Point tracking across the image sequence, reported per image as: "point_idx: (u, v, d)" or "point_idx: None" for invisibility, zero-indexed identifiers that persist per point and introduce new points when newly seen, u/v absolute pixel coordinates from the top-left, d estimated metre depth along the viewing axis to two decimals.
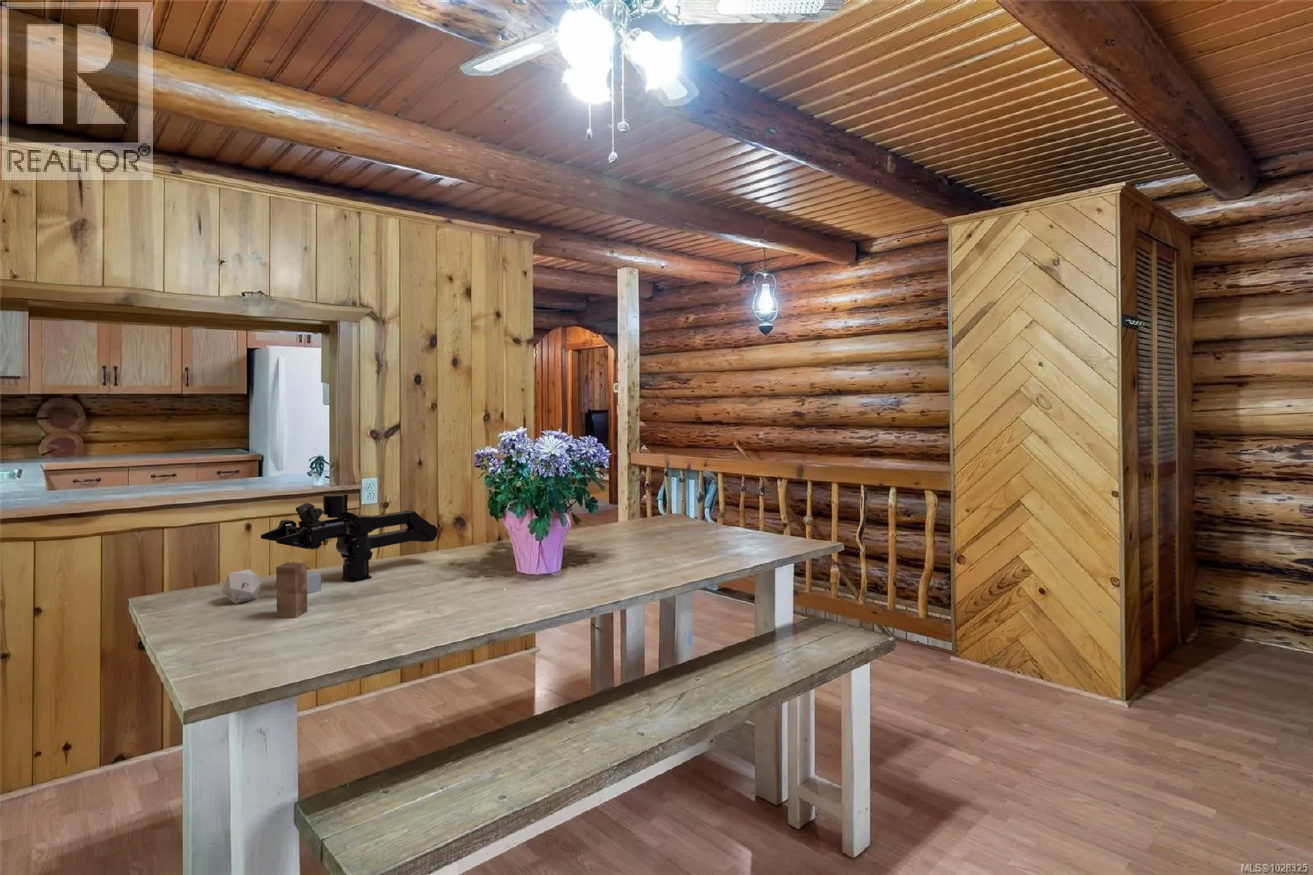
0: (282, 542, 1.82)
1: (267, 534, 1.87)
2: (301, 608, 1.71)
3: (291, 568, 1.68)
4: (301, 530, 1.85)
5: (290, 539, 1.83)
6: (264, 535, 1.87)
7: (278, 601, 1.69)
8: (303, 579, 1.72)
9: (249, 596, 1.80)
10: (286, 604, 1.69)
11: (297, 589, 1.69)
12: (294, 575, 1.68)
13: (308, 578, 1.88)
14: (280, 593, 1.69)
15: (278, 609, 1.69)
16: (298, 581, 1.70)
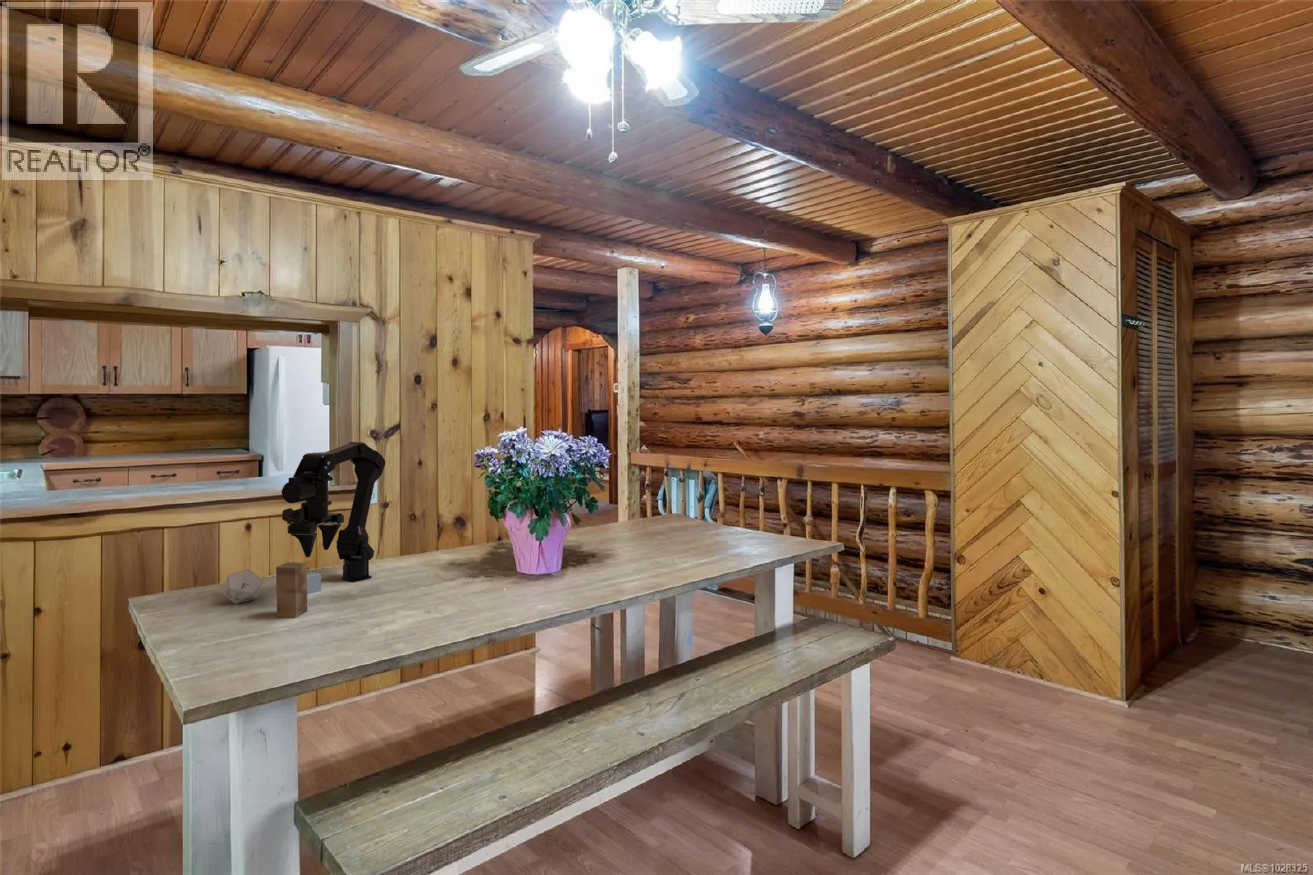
0: (308, 553, 1.81)
1: (324, 544, 1.91)
2: (301, 608, 1.71)
3: (291, 568, 1.68)
4: None
5: (305, 546, 1.81)
6: (324, 547, 1.91)
7: (278, 601, 1.69)
8: (303, 579, 1.72)
9: (249, 596, 1.80)
10: (286, 604, 1.69)
11: (297, 589, 1.69)
12: (294, 575, 1.68)
13: (308, 578, 1.88)
14: (280, 593, 1.69)
15: (278, 609, 1.69)
16: (298, 581, 1.70)
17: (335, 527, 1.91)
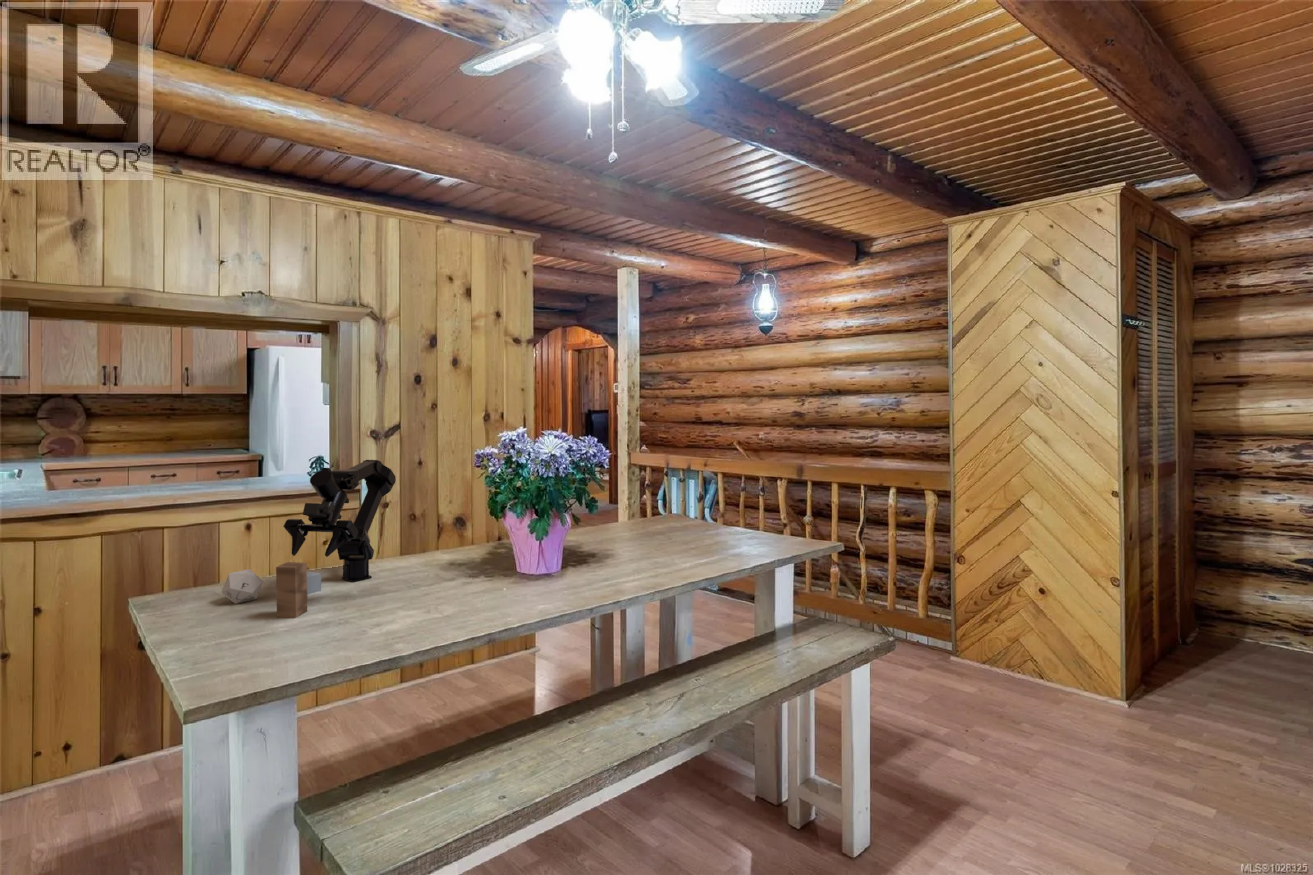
0: (330, 552, 1.80)
1: (295, 549, 1.80)
2: (301, 608, 1.71)
3: (291, 568, 1.68)
4: (336, 532, 1.81)
5: (334, 545, 1.81)
6: (294, 551, 1.80)
7: (278, 601, 1.69)
8: (303, 579, 1.72)
9: (249, 596, 1.80)
10: (286, 604, 1.69)
11: (297, 589, 1.69)
12: (294, 575, 1.68)
13: (308, 578, 1.88)
14: (280, 593, 1.69)
15: (278, 609, 1.69)
16: (298, 581, 1.70)
17: (304, 539, 1.85)
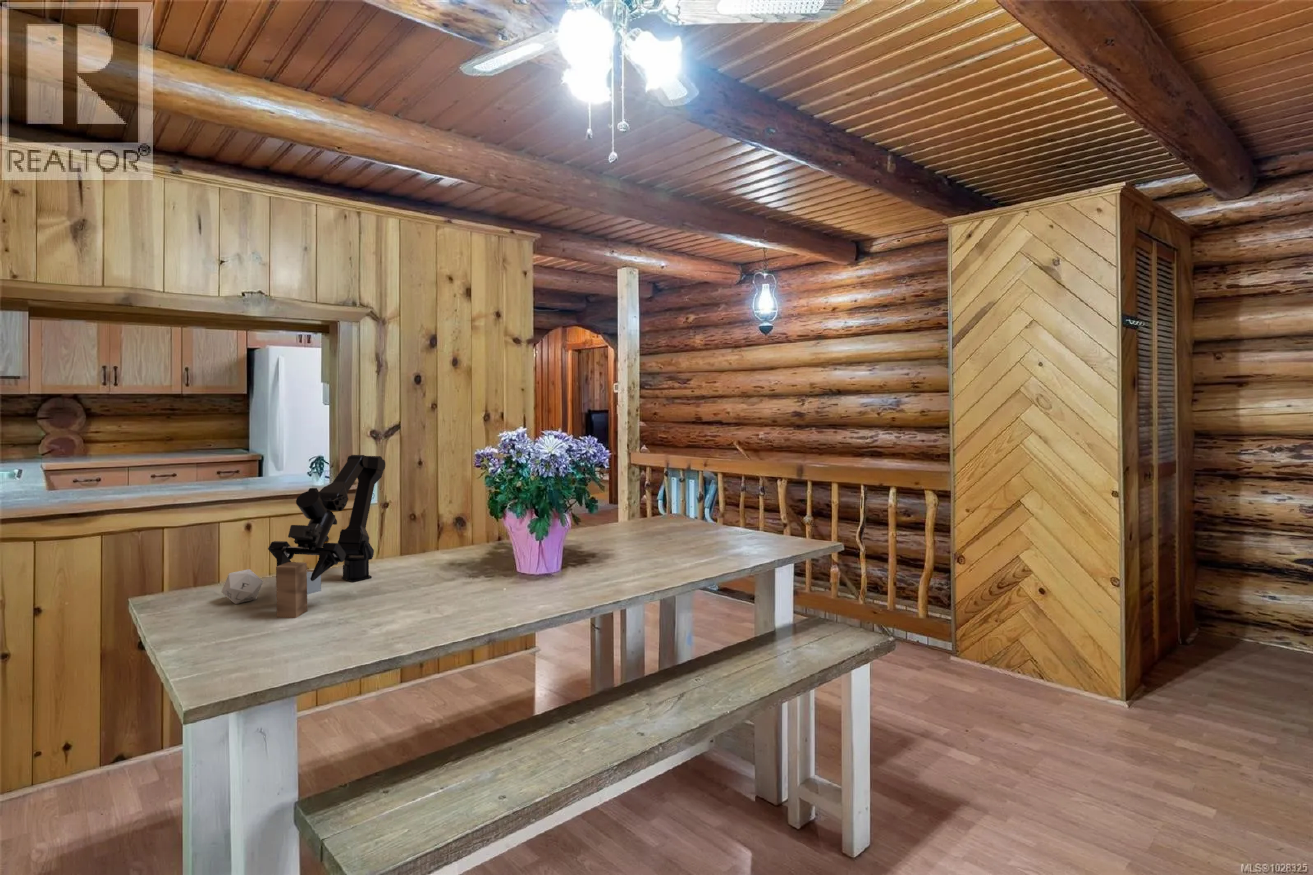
0: (316, 576, 1.73)
1: None
2: (301, 608, 1.71)
3: (291, 568, 1.68)
4: (322, 555, 1.74)
5: (320, 569, 1.74)
6: None
7: (278, 601, 1.69)
8: (303, 579, 1.72)
9: (249, 596, 1.80)
10: (286, 604, 1.69)
11: (297, 589, 1.69)
12: (294, 575, 1.68)
13: (308, 578, 1.88)
14: (280, 593, 1.69)
15: (278, 609, 1.69)
16: (298, 581, 1.70)
17: None
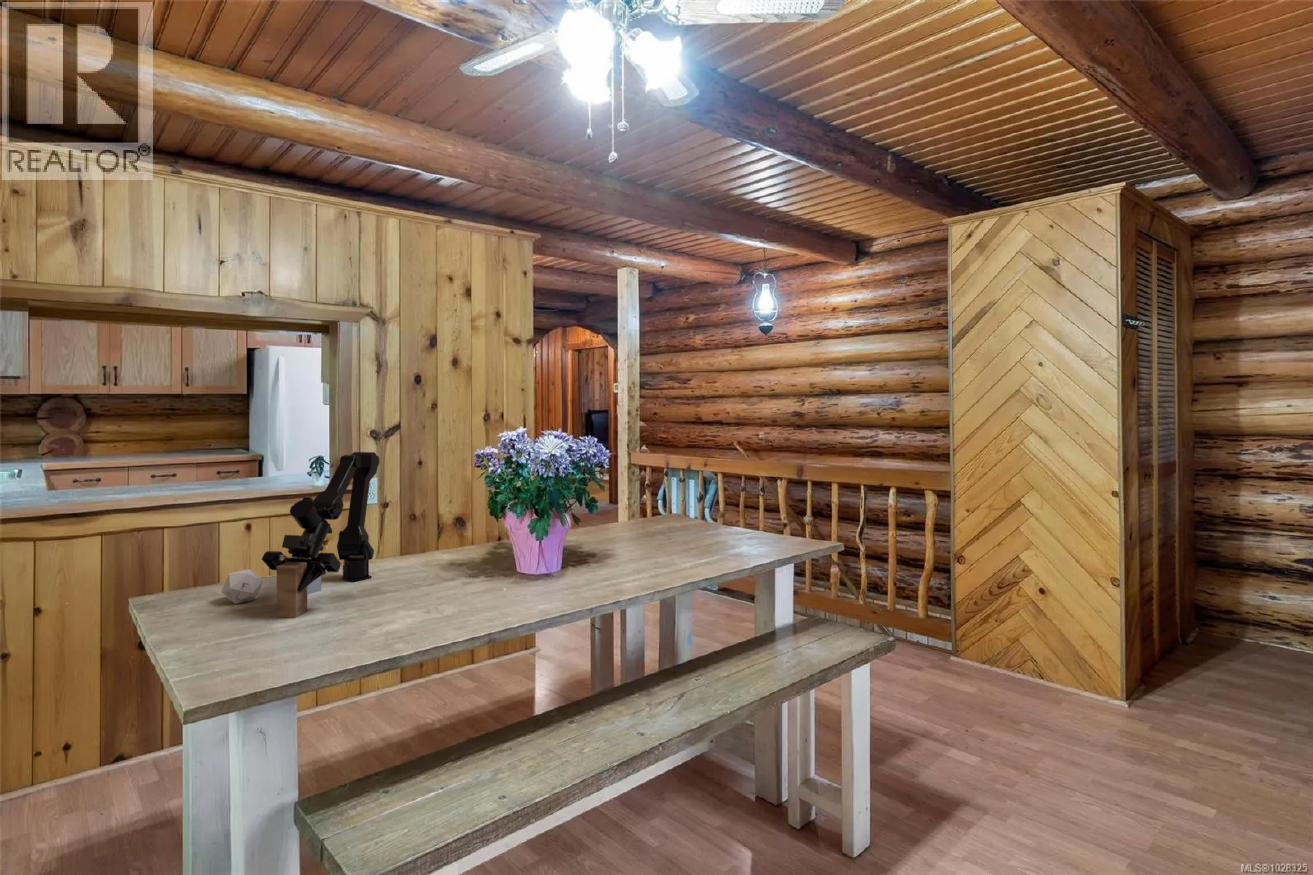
0: (303, 587, 1.71)
1: None
2: (301, 608, 1.71)
3: (291, 568, 1.68)
4: (310, 566, 1.72)
5: (307, 579, 1.72)
6: None
7: (278, 601, 1.69)
8: None
9: (249, 596, 1.80)
10: (286, 603, 1.69)
11: (297, 589, 1.69)
12: (294, 575, 1.68)
13: None
14: (280, 593, 1.69)
15: (278, 609, 1.69)
16: (298, 581, 1.70)
17: None
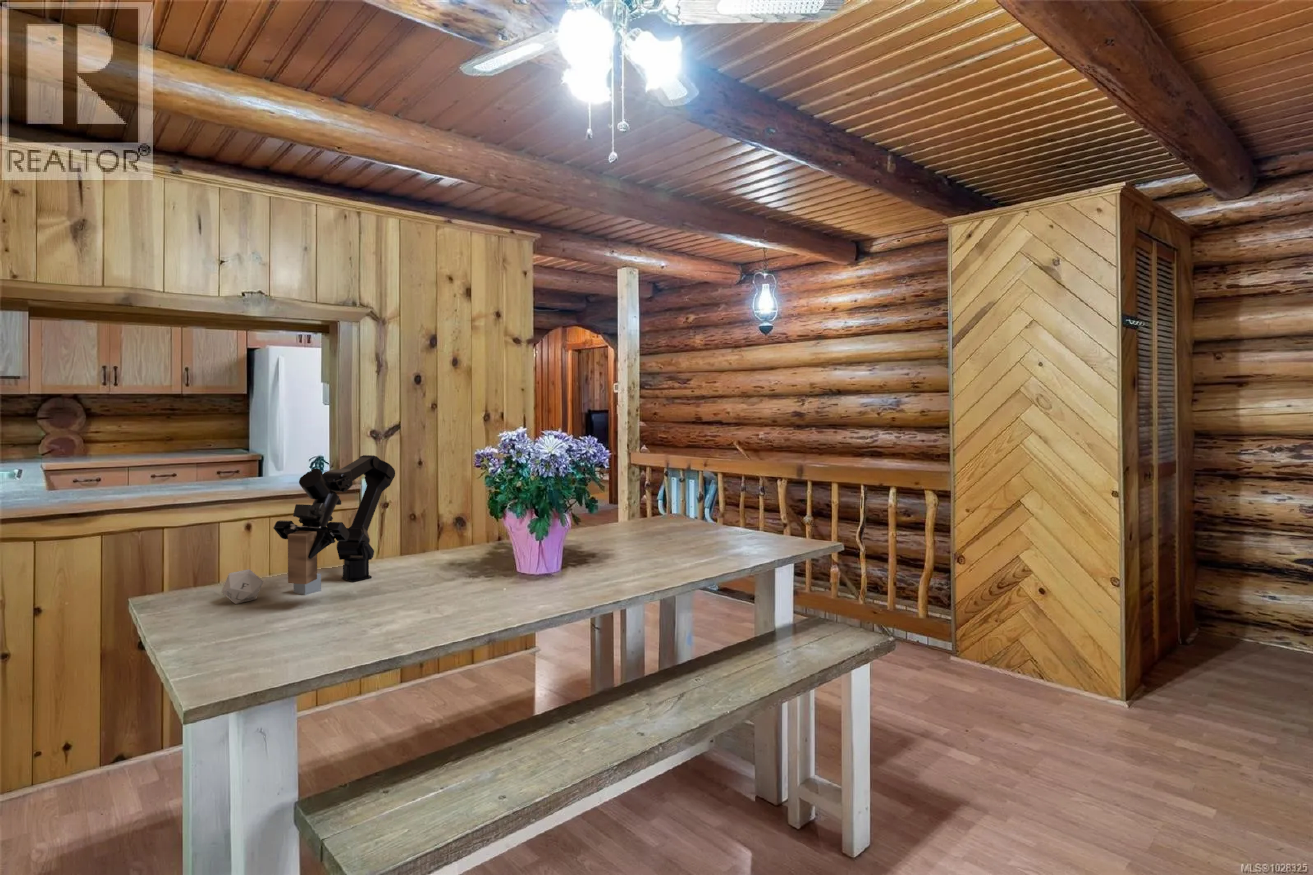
0: (314, 554, 1.77)
1: None
2: (311, 575, 1.78)
3: (302, 536, 1.74)
4: (320, 534, 1.78)
5: (317, 547, 1.78)
6: None
7: (289, 568, 1.75)
8: None
9: (249, 596, 1.80)
10: (296, 570, 1.75)
11: (307, 557, 1.76)
12: (305, 543, 1.74)
13: None
14: (291, 560, 1.75)
15: (289, 575, 1.75)
16: (308, 549, 1.76)
17: None
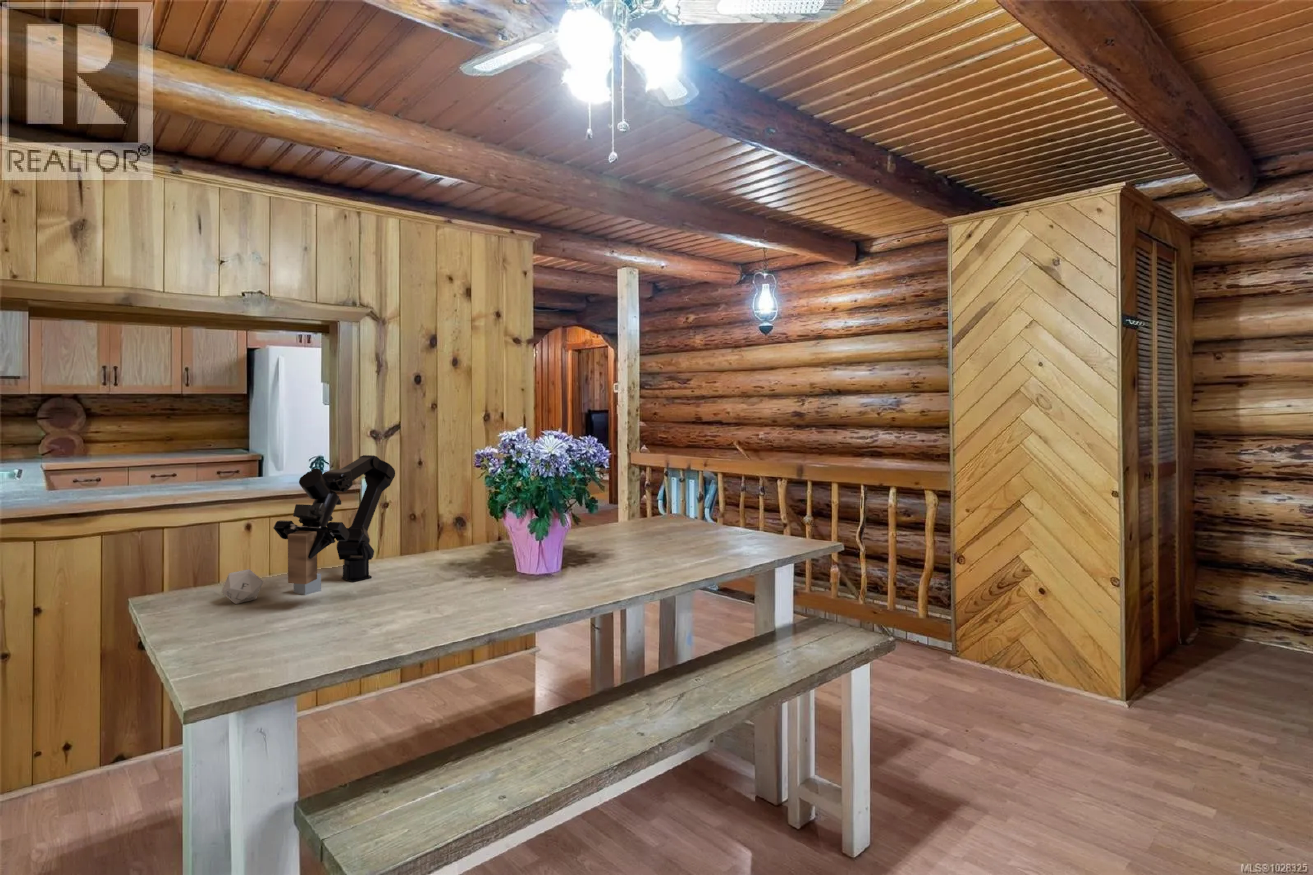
0: (314, 554, 1.77)
1: None
2: (311, 575, 1.78)
3: (302, 536, 1.74)
4: (320, 534, 1.78)
5: (317, 547, 1.78)
6: None
7: (289, 568, 1.75)
8: None
9: (249, 596, 1.80)
10: (296, 570, 1.75)
11: (307, 557, 1.76)
12: (305, 543, 1.74)
13: None
14: (291, 560, 1.75)
15: (289, 575, 1.75)
16: (308, 549, 1.76)
17: None
